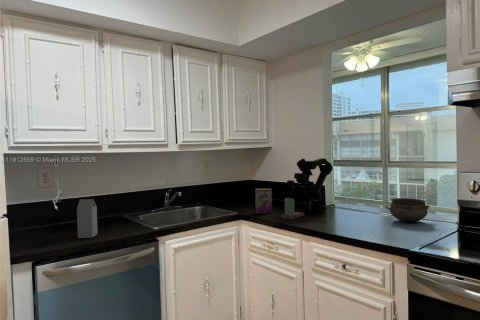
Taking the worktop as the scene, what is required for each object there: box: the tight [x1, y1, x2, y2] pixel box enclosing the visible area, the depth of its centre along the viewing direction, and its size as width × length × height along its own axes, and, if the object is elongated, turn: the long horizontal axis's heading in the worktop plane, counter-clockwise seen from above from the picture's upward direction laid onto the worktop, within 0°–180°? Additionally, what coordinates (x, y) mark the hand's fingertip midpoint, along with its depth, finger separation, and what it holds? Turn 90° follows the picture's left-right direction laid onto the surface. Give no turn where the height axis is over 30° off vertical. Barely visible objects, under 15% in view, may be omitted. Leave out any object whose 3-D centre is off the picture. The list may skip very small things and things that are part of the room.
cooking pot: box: [386, 197, 430, 224], centre depth 181 cm, size 25×19×12 cm
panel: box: [284, 197, 295, 216], centre depth 195 cm, size 2×6×12 cm, turn 48°
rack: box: [281, 211, 305, 220], centre depth 198 cm, size 13×8×2 cm, turn 138°
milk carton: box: [76, 198, 98, 239], centre depth 164 cm, size 7×7×19 cm
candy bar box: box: [254, 188, 273, 215], centre depth 214 cm, size 11×5×16 cm, turn 84°
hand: (296, 195), depth 201 cm, fingers open, 9 cm apart
